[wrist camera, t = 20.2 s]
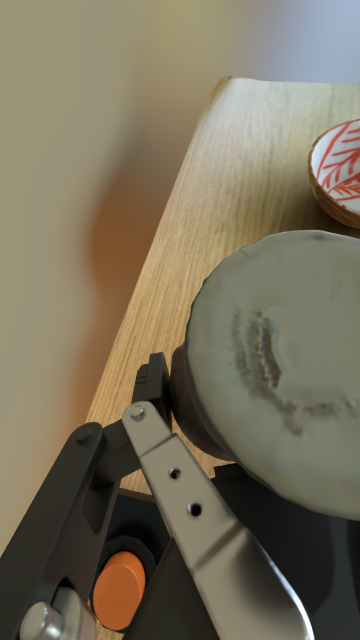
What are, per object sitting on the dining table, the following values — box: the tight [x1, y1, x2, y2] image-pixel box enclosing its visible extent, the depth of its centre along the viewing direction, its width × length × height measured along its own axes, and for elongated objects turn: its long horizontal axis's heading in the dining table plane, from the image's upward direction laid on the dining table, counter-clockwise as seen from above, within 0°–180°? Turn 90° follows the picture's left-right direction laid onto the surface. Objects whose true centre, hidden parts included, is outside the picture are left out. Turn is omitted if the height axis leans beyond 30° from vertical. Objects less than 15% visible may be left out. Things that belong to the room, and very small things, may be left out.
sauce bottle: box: [169, 230, 360, 521], centre depth 12 cm, size 6×6×20 cm
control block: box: [89, 488, 171, 634], centre depth 27 cm, size 14×11×4 cm
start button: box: [93, 551, 145, 630], centre depth 24 cm, size 5×5×2 cm
